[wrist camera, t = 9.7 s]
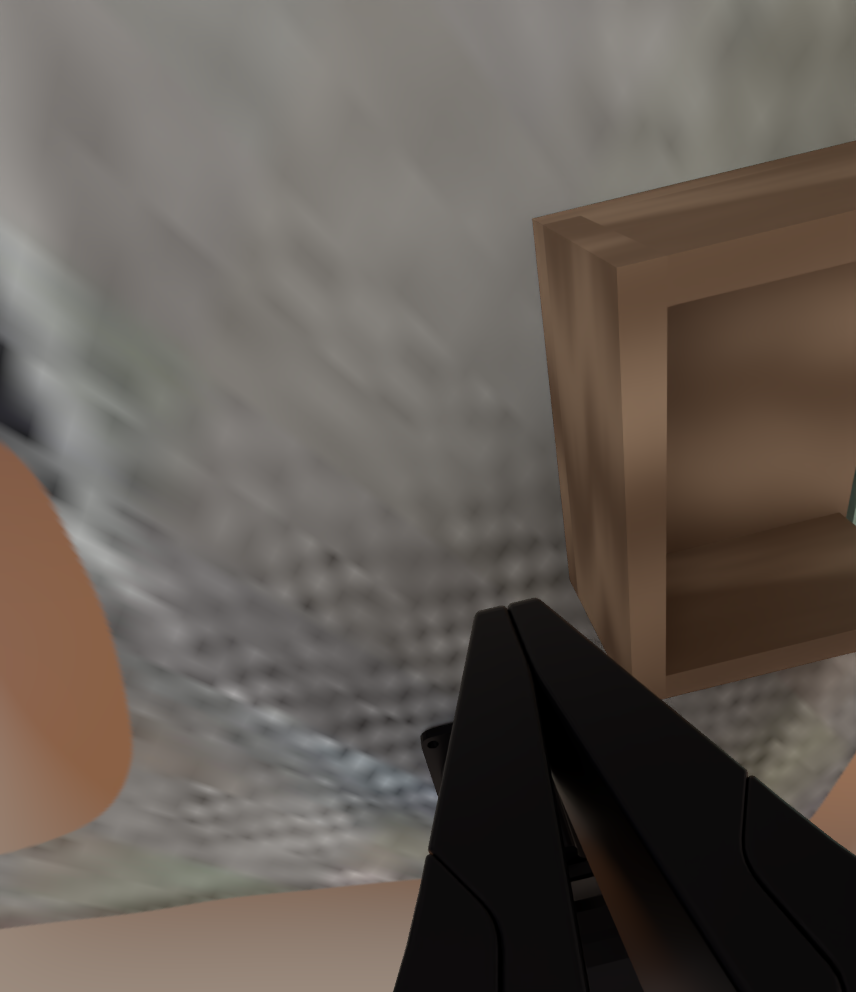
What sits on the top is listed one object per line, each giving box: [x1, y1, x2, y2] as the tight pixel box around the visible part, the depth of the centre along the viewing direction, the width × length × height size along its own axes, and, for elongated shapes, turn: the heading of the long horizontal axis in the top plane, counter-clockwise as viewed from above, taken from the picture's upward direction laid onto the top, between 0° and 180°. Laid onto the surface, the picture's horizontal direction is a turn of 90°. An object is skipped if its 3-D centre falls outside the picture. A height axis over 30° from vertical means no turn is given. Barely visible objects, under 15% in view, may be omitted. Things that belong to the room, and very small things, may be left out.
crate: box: [532, 141, 856, 699], centre depth 18 cm, size 13×10×6 cm
